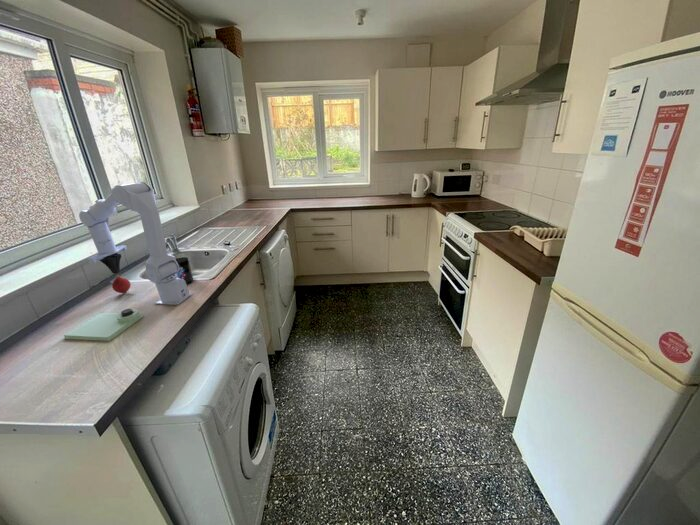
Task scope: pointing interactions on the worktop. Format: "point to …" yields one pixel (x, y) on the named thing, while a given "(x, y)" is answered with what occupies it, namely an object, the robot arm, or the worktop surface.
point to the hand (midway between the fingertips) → (116, 272)
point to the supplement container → (184, 270)
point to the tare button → (126, 312)
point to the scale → (104, 326)
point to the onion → (121, 285)
